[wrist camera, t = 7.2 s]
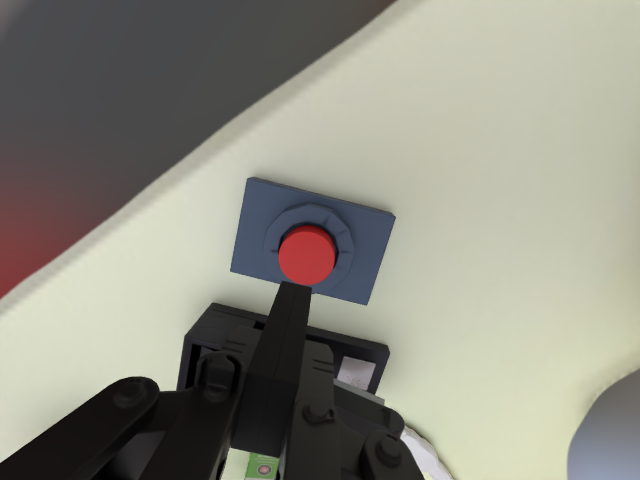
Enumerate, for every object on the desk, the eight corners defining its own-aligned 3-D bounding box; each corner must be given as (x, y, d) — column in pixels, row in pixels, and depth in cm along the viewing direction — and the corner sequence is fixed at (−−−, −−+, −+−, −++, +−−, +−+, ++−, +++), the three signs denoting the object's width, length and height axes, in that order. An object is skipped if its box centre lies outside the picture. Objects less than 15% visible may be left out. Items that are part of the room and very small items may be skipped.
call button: (340, 232, 23) (341, 239, 21) (327, 280, 24) (326, 291, 22) (289, 219, 23) (284, 225, 21) (277, 267, 24) (272, 277, 22)
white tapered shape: (378, 419, 31) (381, 435, 30) (400, 406, 31) (404, 421, 29) (460, 507, 34) (467, 526, 32) (481, 496, 33) (490, 516, 32)
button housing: (392, 212, 26) (401, 221, 22) (365, 297, 28) (369, 316, 24) (252, 176, 25) (240, 179, 22) (235, 264, 28) (222, 280, 24)
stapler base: (388, 345, 29) (400, 388, 24) (371, 393, 31) (379, 443, 25) (212, 302, 29) (184, 336, 23) (203, 352, 30) (175, 395, 25)
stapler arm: (405, 403, 23) (404, 436, 20) (389, 443, 25) (386, 480, 22) (224, 326, 27) (201, 345, 24) (217, 364, 28) (194, 387, 25)
